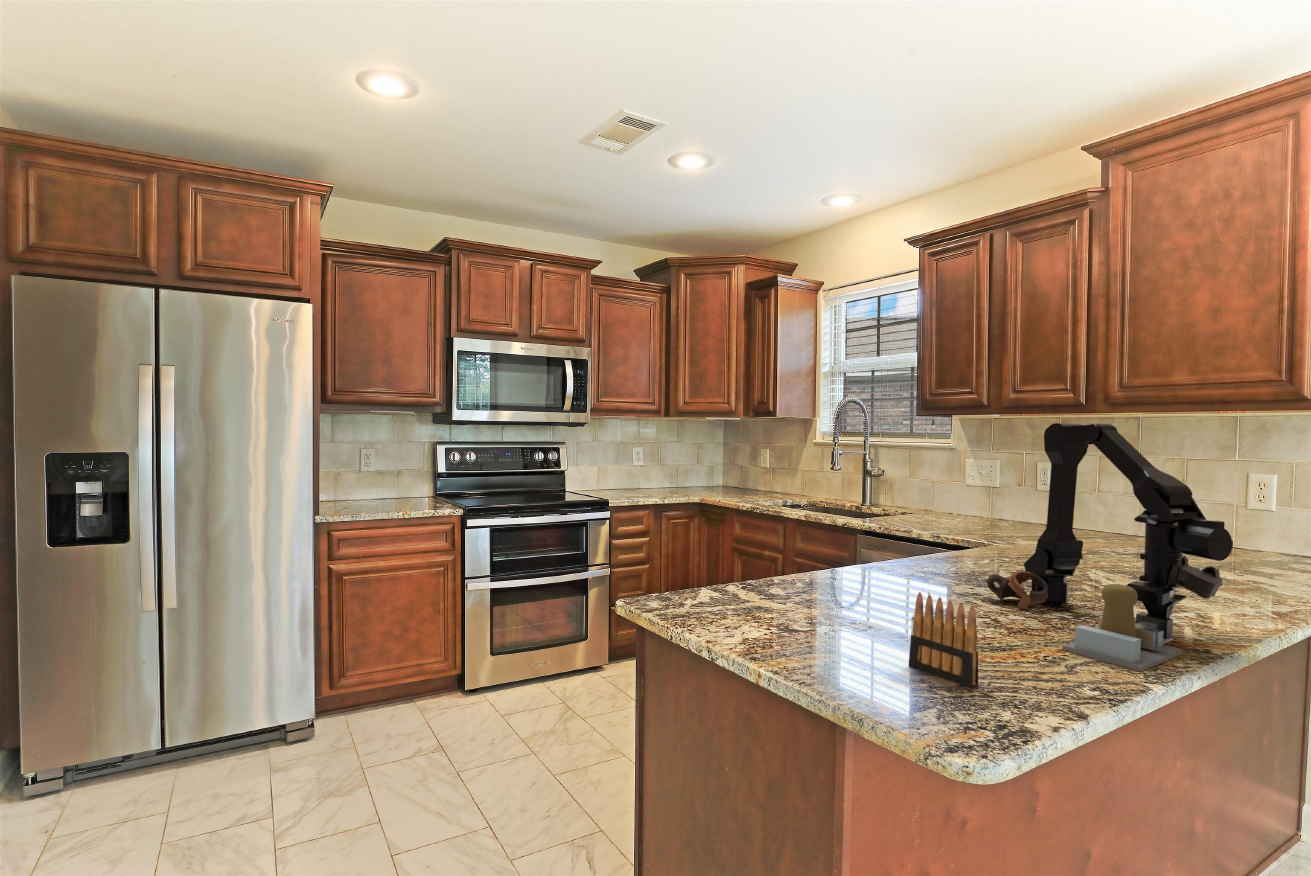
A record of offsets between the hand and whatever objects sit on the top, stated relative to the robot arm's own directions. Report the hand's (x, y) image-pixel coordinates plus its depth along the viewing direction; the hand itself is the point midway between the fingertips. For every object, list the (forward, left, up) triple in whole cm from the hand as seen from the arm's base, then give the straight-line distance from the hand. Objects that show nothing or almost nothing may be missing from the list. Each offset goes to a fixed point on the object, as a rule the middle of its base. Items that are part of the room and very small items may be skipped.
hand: (1160, 632), depth 130 cm
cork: (-5, -17, -1) cm, 17 cm away
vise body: (-4, -11, -1) cm, 12 cm away
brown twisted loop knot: (-26, +8, -1) cm, 27 cm away
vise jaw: (-2, -8, 0) cm, 8 cm away
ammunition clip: (-25, -49, -1) cm, 55 cm away
